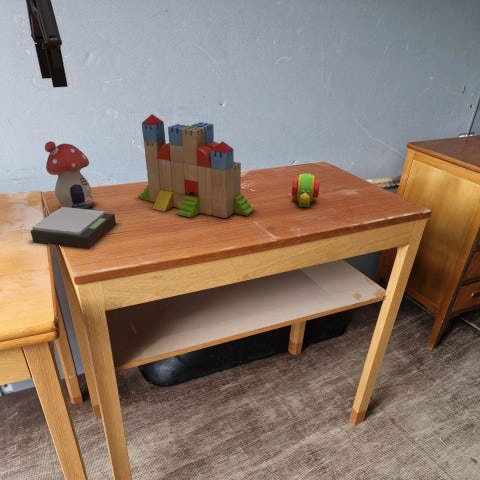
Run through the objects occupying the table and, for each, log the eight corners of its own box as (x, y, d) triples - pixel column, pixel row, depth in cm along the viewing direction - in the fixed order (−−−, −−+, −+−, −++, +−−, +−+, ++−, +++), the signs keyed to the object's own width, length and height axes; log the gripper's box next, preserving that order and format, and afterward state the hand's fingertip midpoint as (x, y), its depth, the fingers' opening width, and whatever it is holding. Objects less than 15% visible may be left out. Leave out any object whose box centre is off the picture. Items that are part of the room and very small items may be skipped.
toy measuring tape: (289, 209, 104) (292, 181, 100) (294, 182, 119) (296, 157, 116) (317, 211, 103) (320, 183, 99) (318, 184, 119) (321, 159, 115)
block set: (260, 207, 105) (264, 119, 93) (231, 228, 94) (232, 132, 83) (164, 186, 115) (157, 105, 104) (128, 203, 105) (116, 115, 94)
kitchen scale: (33, 242, 87) (29, 228, 86) (65, 219, 97) (62, 205, 95) (89, 248, 85) (86, 234, 84) (116, 224, 95) (114, 211, 93)
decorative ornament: (58, 215, 99) (42, 145, 90) (53, 205, 103) (36, 137, 95) (100, 208, 102) (88, 140, 94) (93, 199, 107) (81, 133, 98)
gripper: (62, -53, 73) (86, 89, 86) (38, -43, 91) (61, 74, 103) (13, -57, 70) (45, 92, 83) (-2, -45, 88) (26, 75, 100)
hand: (54, 82), depth 93 cm, fingers open, 13 cm apart
